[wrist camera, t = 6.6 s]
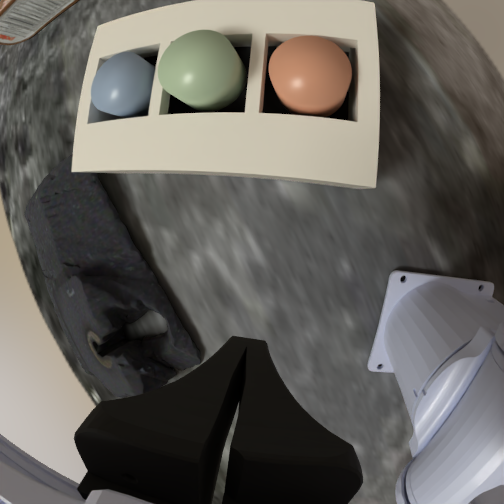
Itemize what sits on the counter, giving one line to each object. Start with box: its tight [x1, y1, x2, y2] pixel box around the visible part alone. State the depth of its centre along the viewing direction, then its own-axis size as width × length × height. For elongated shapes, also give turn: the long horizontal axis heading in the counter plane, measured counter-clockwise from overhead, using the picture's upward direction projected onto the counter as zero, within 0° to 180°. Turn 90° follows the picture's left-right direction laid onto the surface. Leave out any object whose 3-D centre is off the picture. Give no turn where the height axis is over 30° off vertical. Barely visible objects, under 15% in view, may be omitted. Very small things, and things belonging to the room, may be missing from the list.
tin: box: [0, 0, 79, 45], centre depth 16 cm, size 15×3×8 cm, turn 102°
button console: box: [72, 0, 380, 189], centre depth 16 cm, size 18×11×6 cm, turn 86°
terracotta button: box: [269, 36, 352, 118], centre depth 13 cm, size 4×4×3 cm
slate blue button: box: [91, 52, 156, 118], centre depth 15 cm, size 4×4×3 cm
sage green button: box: [158, 30, 247, 112], centre depth 13 cm, size 4×4×3 cm
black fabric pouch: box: [24, 154, 200, 398], centre depth 22 cm, size 15×22×5 cm
